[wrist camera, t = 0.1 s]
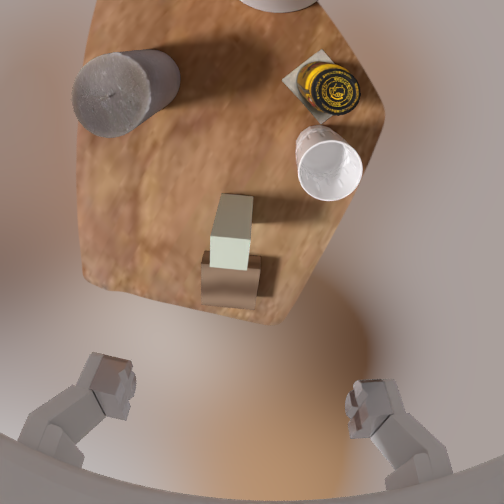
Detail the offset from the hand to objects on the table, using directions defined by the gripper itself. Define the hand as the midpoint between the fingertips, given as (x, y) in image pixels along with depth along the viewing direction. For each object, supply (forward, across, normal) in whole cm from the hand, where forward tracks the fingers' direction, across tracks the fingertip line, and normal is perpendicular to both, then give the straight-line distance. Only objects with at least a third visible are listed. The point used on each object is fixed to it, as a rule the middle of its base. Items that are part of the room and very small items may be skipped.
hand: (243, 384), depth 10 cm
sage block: (+40, +2, +11) cm, 42 cm away
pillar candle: (+38, +16, -9) cm, 43 cm away
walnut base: (+42, +2, +25) cm, 49 cm away
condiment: (+38, -8, -10) cm, 40 cm away
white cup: (+39, -9, -1) cm, 40 cm away
